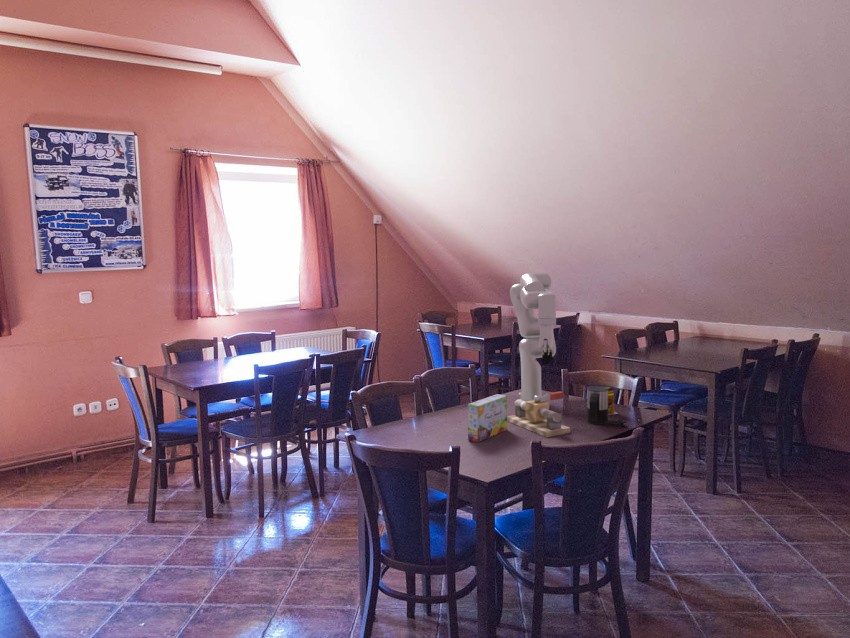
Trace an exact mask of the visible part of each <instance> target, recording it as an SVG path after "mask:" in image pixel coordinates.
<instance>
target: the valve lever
mask: <svg viewBox="0 0 850 638" xmlns="http://www.w3.org/2000/svg"><path fill="white" fill-rule="evenodd" d="M562 399H564V392H563V391H554V392H548V393H547V394H543V395H542V394H541V396H539V395H535V396H534V402H540V401H544V400H545V401H548V400H549V401H555V400H562Z"/></svg>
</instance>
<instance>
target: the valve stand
mask: <svg viewBox="0 0 850 638" xmlns="http://www.w3.org/2000/svg"><path fill="white" fill-rule="evenodd" d="M519 399H520V398H519ZM519 399H516V400H515V401H514V407H515V408H514V409H515V411H514V412H515V414H514V415H507V422H508V421H509V422H508V423H511V424H514V425H516V426H518V427H521V428H523V429H526V430H528V431H531V432H534V433H535V434H538V435H540V436H542V437H545V438H550V437H554V436H555V437H556V436H560V435H566V434H570V433H571V427H569V426H567V425H564V424H562V419H563V416H562V414H561V413H559V412H556V411H553V410H550V402H547V401H546V400H545V401H540V402H534V400H533V401H527V402H525V401H522V400H519Z"/></svg>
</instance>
